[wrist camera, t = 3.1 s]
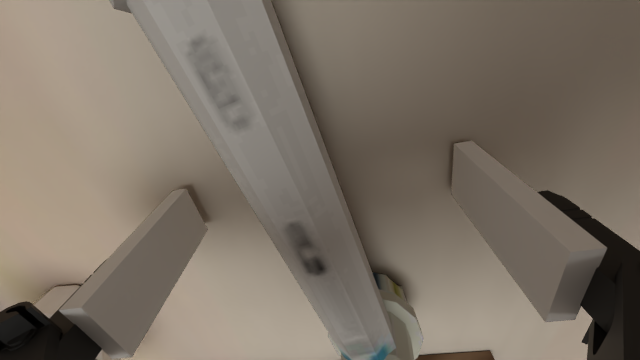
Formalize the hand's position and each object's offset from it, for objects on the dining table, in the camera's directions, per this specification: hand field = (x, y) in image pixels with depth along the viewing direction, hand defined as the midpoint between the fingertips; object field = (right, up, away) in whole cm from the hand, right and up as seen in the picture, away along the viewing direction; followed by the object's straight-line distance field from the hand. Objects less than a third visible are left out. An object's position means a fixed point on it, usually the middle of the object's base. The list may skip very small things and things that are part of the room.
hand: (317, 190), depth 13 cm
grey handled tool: (0, +1, +1) cm, 1 cm away
